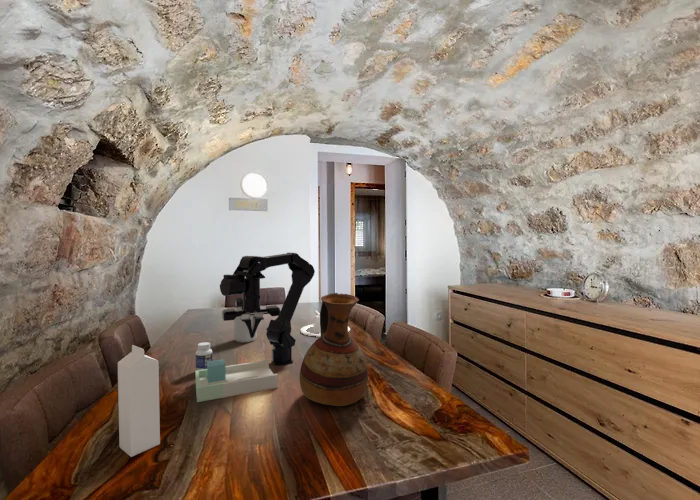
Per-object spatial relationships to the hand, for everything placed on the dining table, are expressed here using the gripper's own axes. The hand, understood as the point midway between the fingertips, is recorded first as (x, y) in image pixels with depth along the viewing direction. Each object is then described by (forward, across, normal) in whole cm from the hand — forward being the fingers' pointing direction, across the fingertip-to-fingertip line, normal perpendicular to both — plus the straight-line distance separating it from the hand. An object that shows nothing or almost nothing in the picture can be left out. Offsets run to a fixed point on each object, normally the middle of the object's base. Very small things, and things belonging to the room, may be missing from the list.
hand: (251, 337), depth 121 cm
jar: (+12, -4, -42) cm, 44 cm away
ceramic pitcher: (+12, -18, +30) cm, 37 cm away
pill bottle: (+12, +15, -8) cm, 21 cm away
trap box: (+12, +6, +10) cm, 16 cm away
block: (+10, +12, +6) cm, 17 cm away
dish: (+12, -43, -42) cm, 61 cm away
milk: (+12, +30, +34) cm, 47 cm away
